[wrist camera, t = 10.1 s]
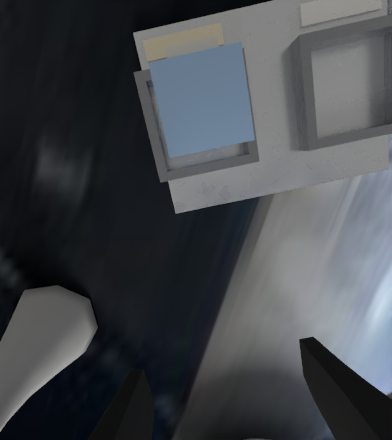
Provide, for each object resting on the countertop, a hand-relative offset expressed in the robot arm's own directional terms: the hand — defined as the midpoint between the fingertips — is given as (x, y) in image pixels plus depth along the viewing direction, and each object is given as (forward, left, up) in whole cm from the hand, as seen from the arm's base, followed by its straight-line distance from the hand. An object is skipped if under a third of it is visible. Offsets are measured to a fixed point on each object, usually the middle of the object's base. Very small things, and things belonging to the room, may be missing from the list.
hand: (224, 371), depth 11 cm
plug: (-2, -12, -9) cm, 15 cm away
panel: (-7, -12, -10) cm, 17 cm away
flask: (+14, +2, -11) cm, 18 cm away
